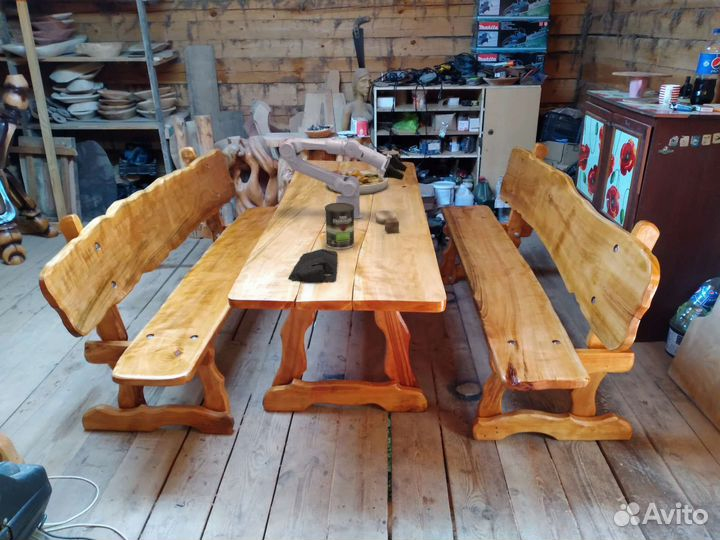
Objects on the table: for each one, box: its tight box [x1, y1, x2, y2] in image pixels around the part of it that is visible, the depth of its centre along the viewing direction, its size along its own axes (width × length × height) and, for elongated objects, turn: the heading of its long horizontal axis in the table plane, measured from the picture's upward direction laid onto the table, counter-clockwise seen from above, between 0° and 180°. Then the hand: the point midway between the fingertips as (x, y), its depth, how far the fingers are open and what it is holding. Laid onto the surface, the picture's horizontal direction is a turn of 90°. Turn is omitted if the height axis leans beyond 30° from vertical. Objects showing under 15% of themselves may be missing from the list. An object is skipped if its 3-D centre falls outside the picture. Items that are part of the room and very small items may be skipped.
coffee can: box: [324, 202, 355, 250], centre depth 196 cm, size 10×10×14 cm
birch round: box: [375, 210, 397, 226], centre depth 220 cm, size 8×8×4 cm
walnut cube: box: [384, 217, 400, 235], centre depth 210 cm, size 4×4×4 cm
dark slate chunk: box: [287, 248, 339, 284], centre depth 179 cm, size 15×22×5 cm
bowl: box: [326, 169, 389, 195], centre depth 265 cm, size 30×30×8 cm
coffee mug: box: [381, 150, 403, 167], centre depth 290 cm, size 12×9×10 cm
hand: (404, 173), depth 216 cm, fingers open, 7 cm apart
